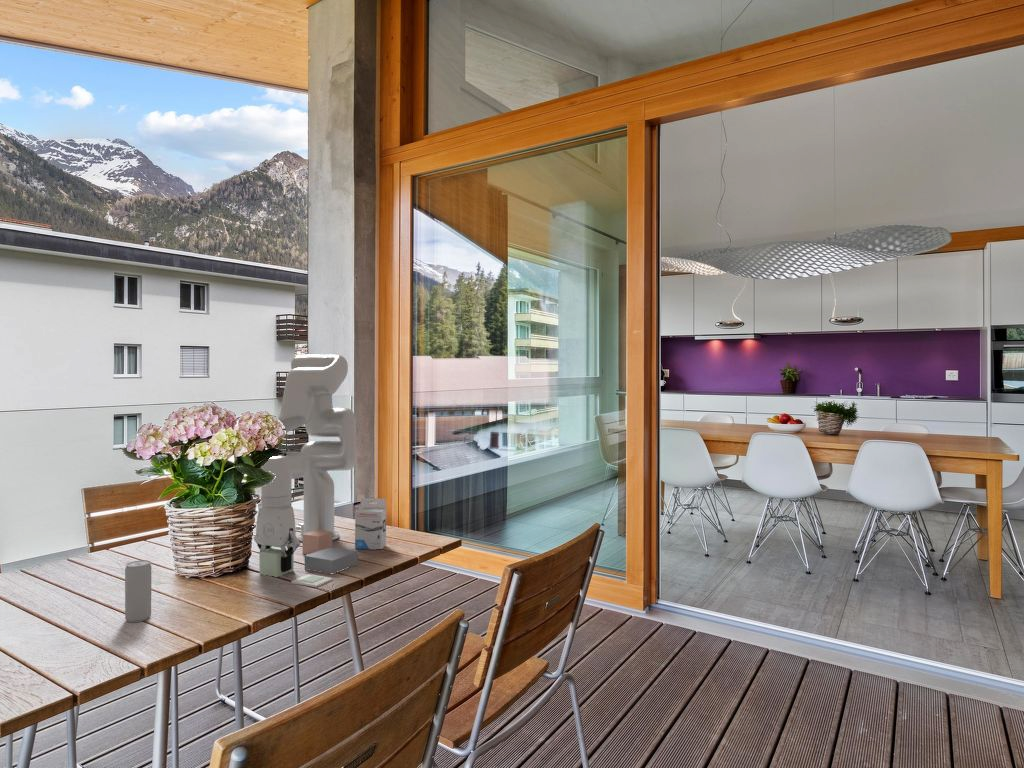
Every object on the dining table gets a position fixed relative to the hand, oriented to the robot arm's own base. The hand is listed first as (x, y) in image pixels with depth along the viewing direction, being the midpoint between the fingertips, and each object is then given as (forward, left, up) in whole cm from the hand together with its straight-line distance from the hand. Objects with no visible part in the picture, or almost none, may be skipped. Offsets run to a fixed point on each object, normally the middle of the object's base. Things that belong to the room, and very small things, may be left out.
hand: (276, 568), depth 161 cm
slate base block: (+10, +10, -1) cm, 14 cm away
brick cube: (-3, +19, -1) cm, 19 cm away
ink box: (+8, +30, -1) cm, 31 cm away
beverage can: (-3, -36, -1) cm, 36 cm away
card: (+14, -2, -1) cm, 14 cm away
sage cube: (0, 0, -1) cm, 1 cm away
